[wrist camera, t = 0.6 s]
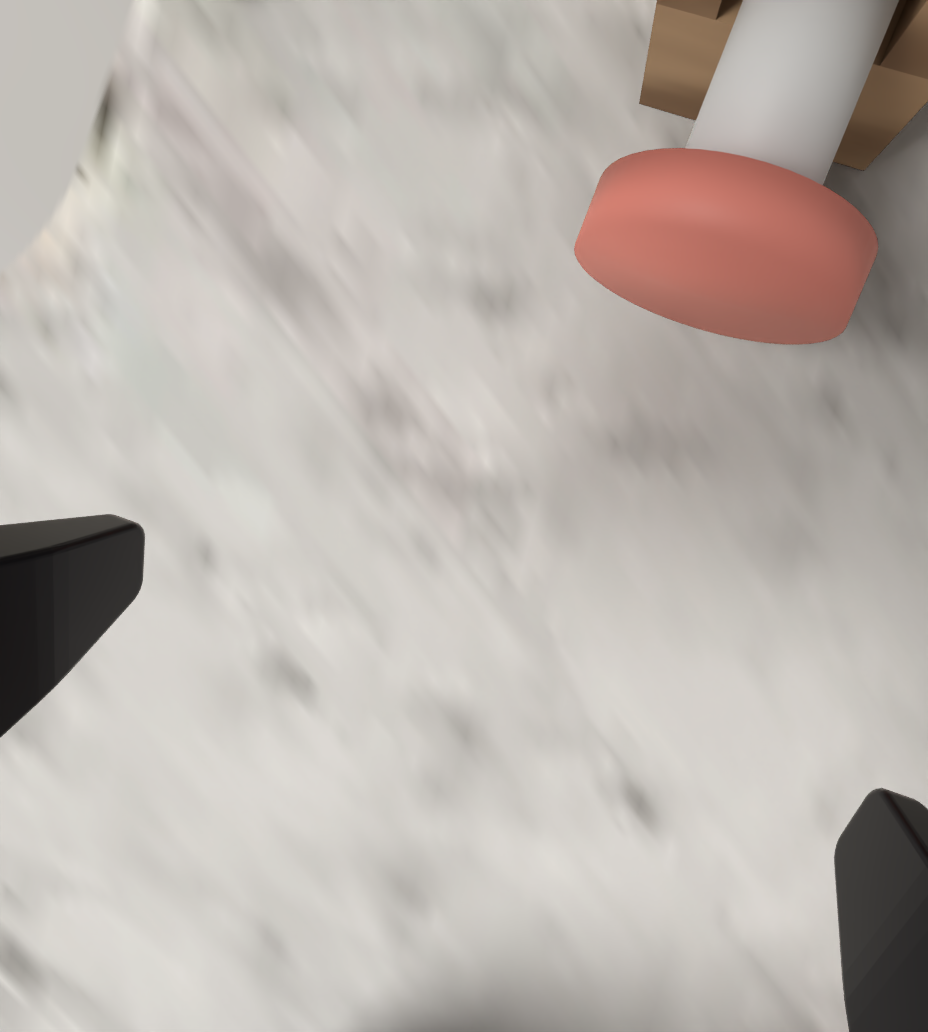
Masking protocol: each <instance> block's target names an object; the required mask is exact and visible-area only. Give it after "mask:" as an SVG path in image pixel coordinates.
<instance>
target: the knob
mask: <svg viewBox="0 0 928 1032" xmlns="http://www.w3.org/2000/svg"><path fill="white" fill-rule="evenodd" d="M898 2H899V0H743V2H742V4H741V7H740V9H739V12H738V14H737V17H736V20H735V22H734V25H733V27H732V30H731V32H730V35H729V37H728V40H727V43H726V45H725V48H724V50H723V53H722V55H721V58H720V60H719V63H718V66H717V68H716V71H715V73H714V76H713V78H712V81H711V83H710V86H709V89H708V91H707V94H706V96H705V99H704V101H703V104H702V106H701V109H700V112H699V114H698V117H697V119H696V122H695V124H694V127H693V129H692V132H691V135H690V137H689V140H688V142H687V145H686V147H685V148H669V149H656V150H647V151H643V152H638V153H634V154H631V155H628V156H625V157H623V158H620V159H619V160H617V161H615V162H614V163H612V164H611V165H610V166H609V167H608V168H607V169H605V171H604V172H603V174H602V176H601V177H600V180H599V183H598V185H597V188H596V191H595V193H594V196H593V198H592V201H591V204H590V206H589V209H588V212H587V214H586V217H585V219H584V222H583V225H582V227H581V230H580V233H579V235H578V238H577V240H576V243H575V248H574V251H575V256H576V258H577V260H578V262H579V263H580V265H581V266H582V267H583V269H584V270H585V271H586V272H587V273H588V274H589V275H590V276H591V277H593V278H594V279H595V280H596V281H597V282H599V283H600V284H602V285H603V286H604V287H606V288H607V289H609V290H610V291H612V292H614V293H615V294H617V295H619V296H620V297H622V298H624V299H626V300H628V301H629V302H631V303H633V304H635V305H637V306H639V307H642V308H644V309H646V310H648V311H651V312H653V313H655V314H658V315H660V316H663V317H665V318H668V319H671V320H673V321H676V322H679V323H682V324H685V325H688V326H691V327H694V328H698V329H701V330H705V331H708V332H712V333H716V334H720V335H724V336H729V337H733V338H738V339H744V340H750V341H756V342H764V343H774V344H811V343H818V342H823V341H827V340H830V339H832V338H835V337H837V336H838V335H840V334H841V333H842V332H843V331H844V330H845V328H846V327H847V324H848V322H849V319H850V317H851V315H852V312H853V310H854V308H855V305H856V303H857V301H858V298H859V296H860V294H861V291H862V289H863V286H864V284H865V282H866V279H867V277H868V275H869V272H870V270H871V268H872V265H873V263H874V261H875V258H876V256H877V251H878V241H877V237H876V234H875V232H874V229H873V228H872V226H871V225H870V223H869V222H868V221H867V219H866V218H865V217H864V216H863V215H862V214H861V213H860V212H859V211H858V210H857V209H856V208H855V207H854V206H853V205H851V204H850V203H849V202H848V201H846V200H845V199H844V198H842V197H841V196H839V195H838V194H836V193H835V192H833V191H831V190H830V189H828V188H827V187H825V186H823V184H824V181H825V179H826V176H827V174H828V171H829V169H830V167H831V164H832V162H833V159H834V157H835V154H836V152H837V150H838V147H839V145H840V142H841V140H842V137H843V135H844V133H845V130H846V128H847V125H848V123H849V120H850V118H851V116H852V113H853V111H854V108H855V106H856V104H857V101H858V99H859V96H860V94H861V91H862V89H863V87H864V84H865V82H866V79H867V77H868V74H869V72H870V70H871V67H872V65H873V62H874V60H875V57H876V55H877V53H878V50H879V48H880V45H881V43H882V40H883V38H884V36H885V33H886V31H887V28H888V26H889V24H890V21H891V19H892V16H893V14H894V11H895V9H896V7H897V4H898Z"/></svg>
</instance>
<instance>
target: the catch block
mask: <svg viewBox="0 0 928 1032" xmlns="http://www.w3.org/2000/svg"><path fill="white" fill-rule="evenodd" d="M742 2H743V0H657V4H656V10H655V15H654V21H653V27H652V33H651V39H650V44H649V50H648V56H647V62H646V67H645V73H644V79H643V85H642V90H641V96H640V102H639V104H643V105H646V106H649V107H653V108H656V109H659V110H663V111H666V112H669V113H673V114H676V115H679V116H683V117H686V118H689V119H693V120H696V119H697V117H698V114H699V112H700V109H701V106H702V104H703V101H704V99H705V96H706V94H707V91H708V89H709V86H710V83H711V81H712V78H713V76H714V73H715V71H716V68H717V66H718V63H719V60H720V58H721V55H722V53H723V50H724V48H725V45H726V43H727V40H728V37H729V35H730V32H731V30H732V27H733V25H734V22H735V20H736V17H737V14H738V12H739V9H740V7H741V4H742ZM927 102H928V0H899V2H898V4H897V7H896V9H895V11H894V14H893V16H892V19H891V21H890V24H889V26H888V28H887V31H886V33H885V36H884V38H883V40H882V43H881V45H880V48H879V50H878V53H877V55H876V57H875V60H874V62H873V65H872V67H871V70H870V72H869V74H868V77H867V79H866V82H865V84H864V87H863V89H862V91H861V94H860V96H859V99H858V101H857V104H856V106H855V108H854V111H853V113H852V116H851V118H850V120H849V123H848V125H847V128H846V130H845V133H844V135H843V137H842V140H841V142H840V145H839V147H838V150H837V152H836V154H835V157H834V159H833V162H836V163H839V164H843V165H846V166H849V167H853V168H856V169H859V170H863V171H864V170H865V169H866V168H867V167H868V166H869V165H870V164H871V162H872V161H873V160H874V159H875V158H876V157H877V156H878V155H879V154H880V153H881V152H882V150H883V149H884V148H885V147H886V146H887V145H888V144H889V143H890V142H891V141H892V140H893V139H894V137H895V136H896V135H897V134H898V133H899V132H900V131H901V130H902V129H903V128H904V127H905V125H906V124H907V123H908V122H909V121H910V120H911V119H912V118H913V117H914V116H915V115H916V114H917V112H918V111H919V110H920V109H921V108H922V107H923V106H924V105H925V104H926V103H927Z"/></svg>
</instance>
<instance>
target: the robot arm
mask: <svg viewBox="0 0 928 1032" xmlns="http://www.w3.org/2000/svg"><path fill="white" fill-rule="evenodd" d="M144 546H145V533H144V530H143V528H142V527H141V526H140V525H139V524H138V523H136V522H133V521H130V520H127V519H125V518H122V517H119V516H116V515H111V514H106V515H96V516H86V517H76V518H67V519H57V520H47V521H37V522H28V523H18V524H8V525H0V737H2V736H3V735H4V734H5V733H6V732H7V731H8V730H9V729H10V728H11V727H13V726H14V725H15V724H16V723H17V722H18V721H19V720H20V719H21V718H22V717H23V716H25V715H26V714H27V713H28V712H29V711H30V710H31V709H32V708H33V707H34V706H36V705H37V704H38V703H39V702H40V701H41V700H42V699H43V698H44V697H45V696H46V695H47V694H48V693H49V692H50V691H51V690H52V689H53V688H54V687H55V686H56V685H57V684H58V683H59V682H60V681H61V680H62V679H63V678H64V677H65V676H66V675H67V674H68V673H69V672H70V671H71V670H72V668H73V667H74V666H75V665H76V664H77V663H78V662H79V661H80V660H81V658H82V657H83V656H84V655H85V654H86V653H87V652H88V651H89V650H90V648H91V647H92V646H93V645H94V644H95V643H96V642H97V641H98V640H99V638H100V637H101V636H102V635H103V634H104V633H105V632H106V631H107V630H108V628H109V627H110V626H111V625H112V624H113V623H114V622H115V621H116V619H117V618H118V617H119V616H120V615H121V614H122V613H123V612H124V611H125V609H126V608H127V607H128V606H129V605H130V604H131V603H132V602H133V600H134V599H135V598H136V596H137V595H138V593H139V591H140V589H141V586H142V581H143V567H144ZM834 864H835V878H836V893H837V908H838V923H839V937H840V952H841V967H842V980H843V990H844V1000H845V1007H846V1014H847V1020H848V1027H849V1032H928V809H927V808H926V807H925V806H924V805H922V804H921V803H920V802H918V801H916V800H915V799H912V798H909V797H907V796H904V795H901V794H898V793H895V792H892V791H889V790H887V789H883V788H879V789H875V790H873V791H871V792H870V793H869V794H868V795H867V796H866V798H865V799H864V801H863V802H862V804H861V805H860V807H859V808H858V810H857V811H856V813H855V814H854V816H853V817H852V819H851V820H850V822H849V824H848V825H847V827H846V828H845V830H844V831H843V833H842V834H841V836H840V838H839V840H838V842H837V845H836V849H835V856H834Z"/></svg>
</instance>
